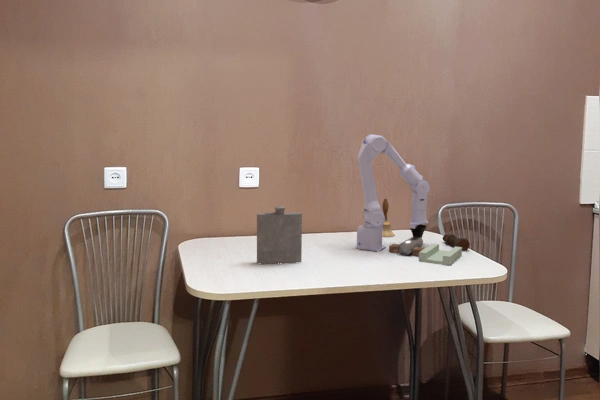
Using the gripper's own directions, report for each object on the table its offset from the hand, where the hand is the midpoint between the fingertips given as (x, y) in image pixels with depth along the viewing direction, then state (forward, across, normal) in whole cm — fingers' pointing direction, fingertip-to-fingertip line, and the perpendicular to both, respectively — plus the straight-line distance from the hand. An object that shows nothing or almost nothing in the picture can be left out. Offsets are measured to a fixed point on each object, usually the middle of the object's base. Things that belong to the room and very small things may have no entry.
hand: (417, 243), depth 226 cm
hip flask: (+2, -49, +34) cm, 59 cm away
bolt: (+2, +9, -12) cm, 15 cm away
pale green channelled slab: (+2, -12, -13) cm, 18 cm away
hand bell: (+2, +13, +19) cm, 23 cm away
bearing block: (+2, -12, 0) cm, 12 cm away
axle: (-1, -9, 0) cm, 9 cm away
